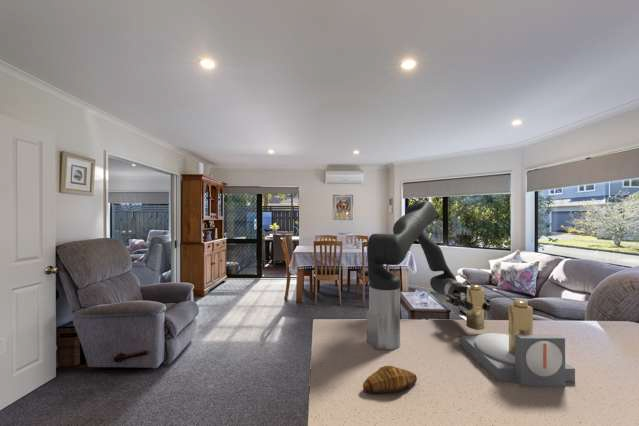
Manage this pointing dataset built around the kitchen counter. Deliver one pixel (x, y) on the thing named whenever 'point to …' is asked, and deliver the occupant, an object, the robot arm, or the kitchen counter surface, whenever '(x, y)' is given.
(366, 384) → the croissant
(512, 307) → the weight
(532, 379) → the scale
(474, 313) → the weight
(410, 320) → the kitchen counter surface
